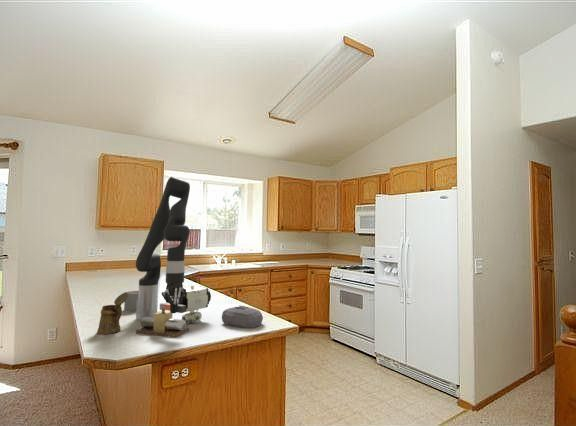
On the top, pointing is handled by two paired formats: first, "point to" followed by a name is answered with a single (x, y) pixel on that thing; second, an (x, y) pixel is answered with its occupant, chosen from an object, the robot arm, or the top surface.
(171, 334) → the stand
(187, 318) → the ball valve
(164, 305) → the valve lever
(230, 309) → the small grey backpack
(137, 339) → the top surface
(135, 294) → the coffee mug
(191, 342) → the top surface
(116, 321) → the wooden mug
